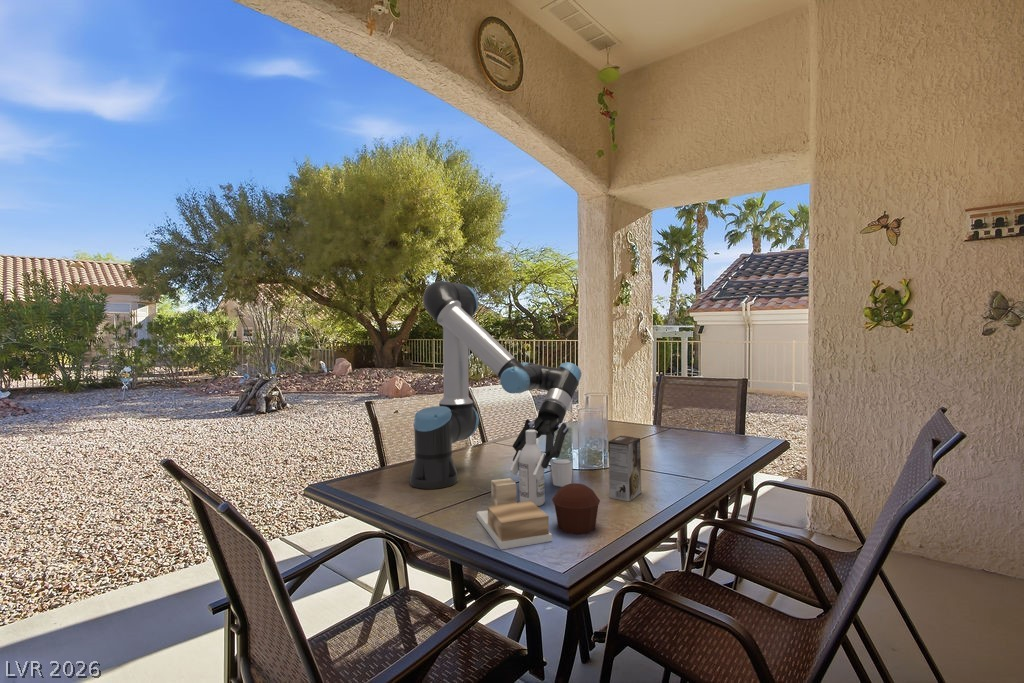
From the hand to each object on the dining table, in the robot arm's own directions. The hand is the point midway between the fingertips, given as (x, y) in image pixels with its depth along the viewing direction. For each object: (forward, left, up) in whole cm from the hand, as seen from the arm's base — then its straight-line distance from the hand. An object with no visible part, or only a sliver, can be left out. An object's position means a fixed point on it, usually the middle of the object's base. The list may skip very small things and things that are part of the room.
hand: (524, 475), depth 130 cm
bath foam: (-2, +3, -9) cm, 9 cm away
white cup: (-15, +18, -9) cm, 25 cm away
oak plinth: (+17, -8, -7) cm, 20 cm away
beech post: (+7, -8, -7) cm, 13 cm away
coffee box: (+2, +30, -9) cm, 31 cm away
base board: (+13, -8, -8) cm, 18 cm away
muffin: (+18, +6, -9) cm, 21 cm away
